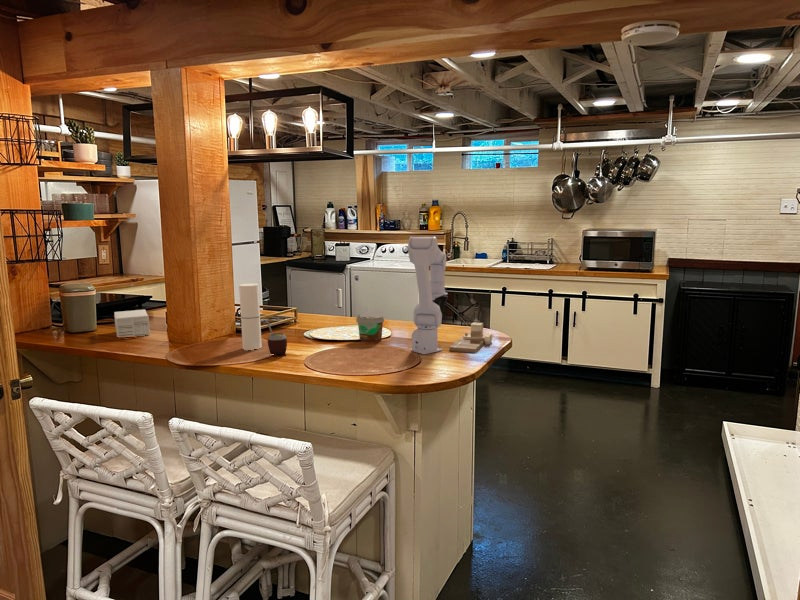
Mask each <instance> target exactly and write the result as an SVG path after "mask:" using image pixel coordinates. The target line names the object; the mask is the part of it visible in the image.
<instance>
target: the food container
mask: <svg viewBox="0 0 800 600" xmlns="http://www.w3.org/2000/svg"><path fill="white" fill-rule="evenodd" d="M355 321H356V323H357V326H358V335H359V336H358V337H359V340H360V339H361V341H360V342H362V343H378V342H382V339H383V327H384V326H383V325H384V323H385V318H384V317H383V316H381V317H374V316H360V314H358V315H357V316H356V320H355Z"/></svg>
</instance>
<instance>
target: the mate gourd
mask: <svg viewBox="0 0 800 600" xmlns="http://www.w3.org/2000/svg"><path fill="white" fill-rule="evenodd" d="M261 319H262V320H263V321H264V322H265V323H266V325H267V327H268V329H269V331H270V334H269V336H268V337H267V347H268V350H269V355H270V354H274V355H275V356H273V358H274V357H276V358H278V357H286V356H287V354H286V353H287V346H288V339H287V335H285V334H284V333H282V332H273V330H272V328H271V324H270V322H269V321H268V320H267V319H265V318H263V317H261ZM277 356H278V357H277Z"/></svg>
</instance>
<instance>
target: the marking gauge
mask: <svg viewBox="0 0 800 600" xmlns="http://www.w3.org/2000/svg"><path fill="white" fill-rule="evenodd" d="M462 337H463V339H468V340H481V341H485V344H484V345H487V346H488V345H490V344H491V343H492V342H493V332H492V333H490V332H489V333H487V334H486V335H485V334H484V323H483V322H472V323H471V324H470V334H469V333H468V332H465V334H464V335H463V336H462Z"/></svg>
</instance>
